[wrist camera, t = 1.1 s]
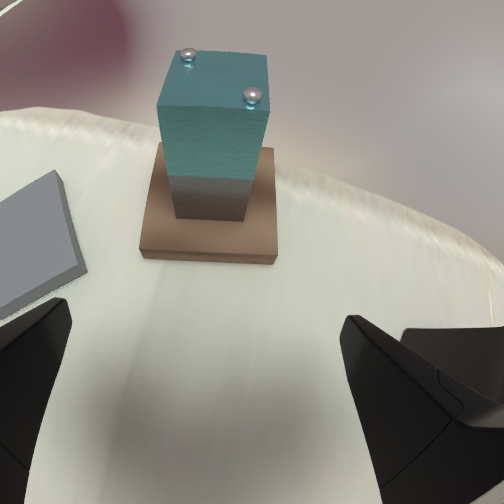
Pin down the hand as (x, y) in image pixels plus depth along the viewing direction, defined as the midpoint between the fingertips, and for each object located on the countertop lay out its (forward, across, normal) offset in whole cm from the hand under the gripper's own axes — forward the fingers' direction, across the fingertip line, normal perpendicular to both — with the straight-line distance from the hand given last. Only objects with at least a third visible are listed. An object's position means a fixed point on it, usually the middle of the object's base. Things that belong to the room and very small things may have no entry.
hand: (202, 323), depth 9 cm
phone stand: (+6, -19, +12) cm, 23 cm away
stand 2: (+17, 0, +2) cm, 17 cm away
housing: (+16, 0, 0) cm, 16 cm away
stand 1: (+14, +17, +5) cm, 22 cm away
